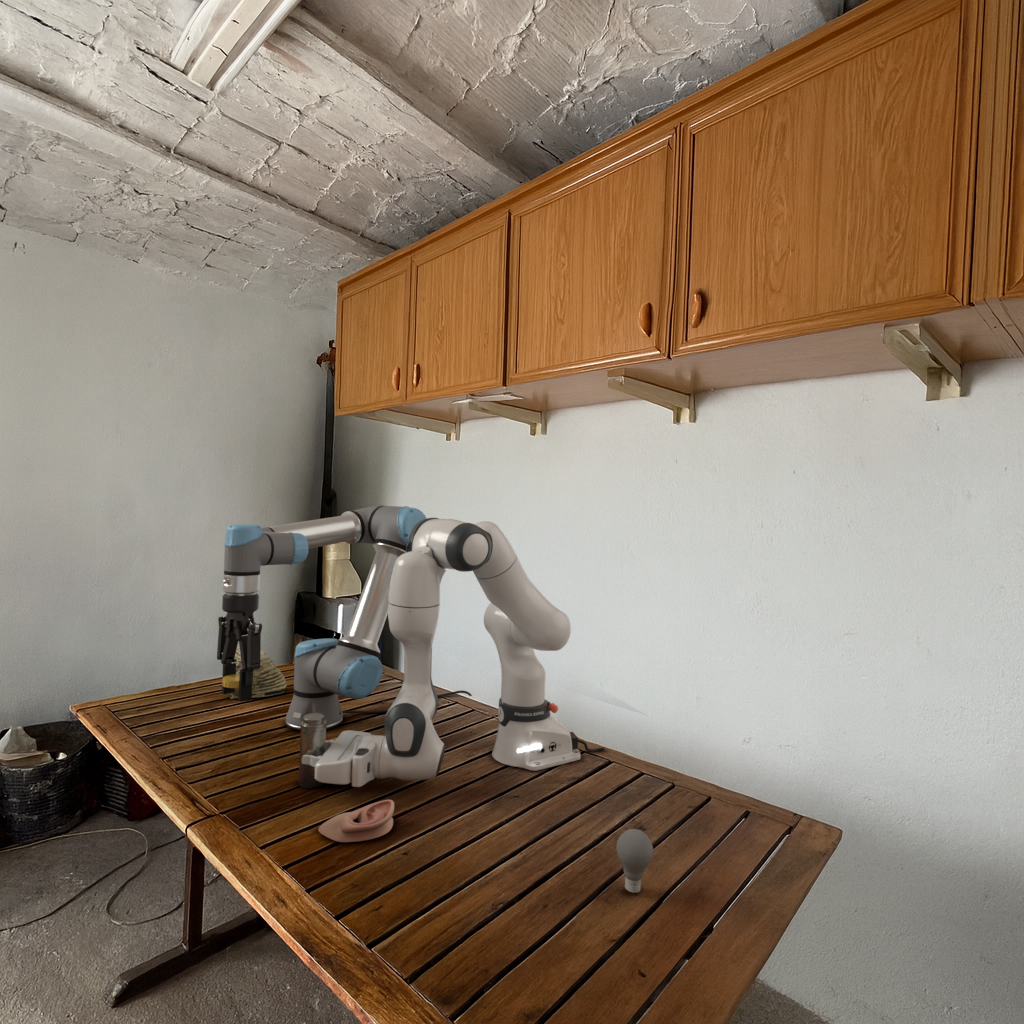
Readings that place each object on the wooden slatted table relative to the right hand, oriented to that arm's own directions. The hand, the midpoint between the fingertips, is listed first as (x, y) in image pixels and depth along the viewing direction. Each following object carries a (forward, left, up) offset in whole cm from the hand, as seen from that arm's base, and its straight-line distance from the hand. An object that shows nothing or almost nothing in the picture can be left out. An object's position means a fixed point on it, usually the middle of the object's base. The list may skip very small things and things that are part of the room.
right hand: (308, 752), depth 140 cm
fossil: (+10, -67, -7) cm, 68 cm away
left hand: (+15, -9, +11) cm, 21 cm away
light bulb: (-47, +57, -7) cm, 74 cm away
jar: (-1, 0, -7) cm, 7 cm away
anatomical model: (-7, +23, -7) cm, 25 cm away
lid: (+15, -9, +15) cm, 23 cm away
